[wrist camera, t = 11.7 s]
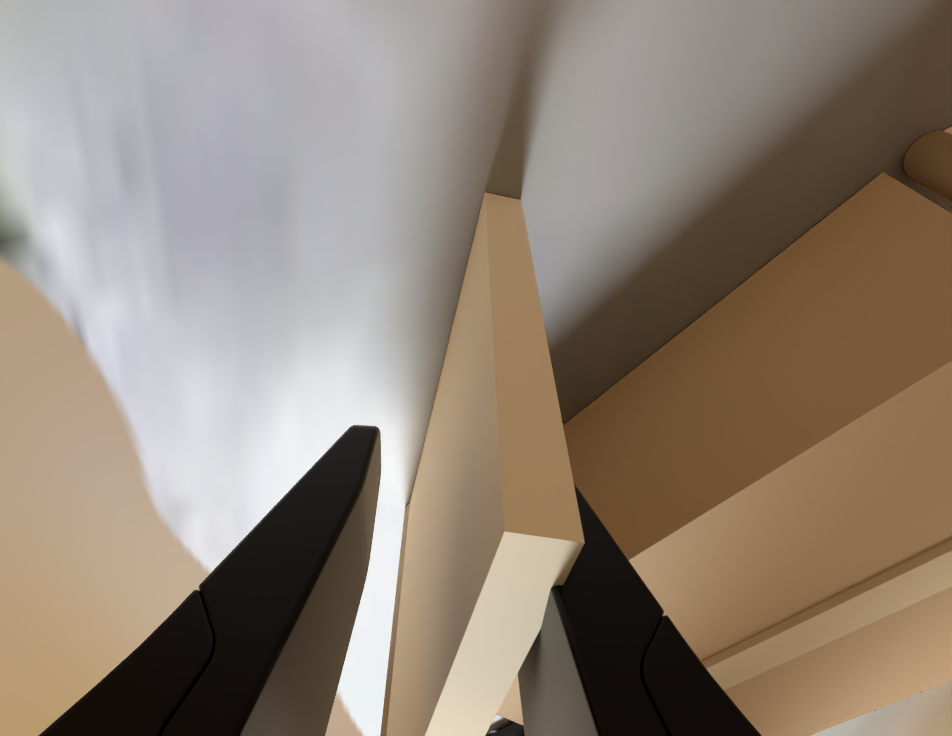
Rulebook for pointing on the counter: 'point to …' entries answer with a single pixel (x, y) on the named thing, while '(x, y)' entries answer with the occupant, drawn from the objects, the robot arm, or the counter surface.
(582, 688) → the robot arm
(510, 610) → the side flap
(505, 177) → the counter surface
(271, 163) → the counter surface
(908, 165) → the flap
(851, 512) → the carton
